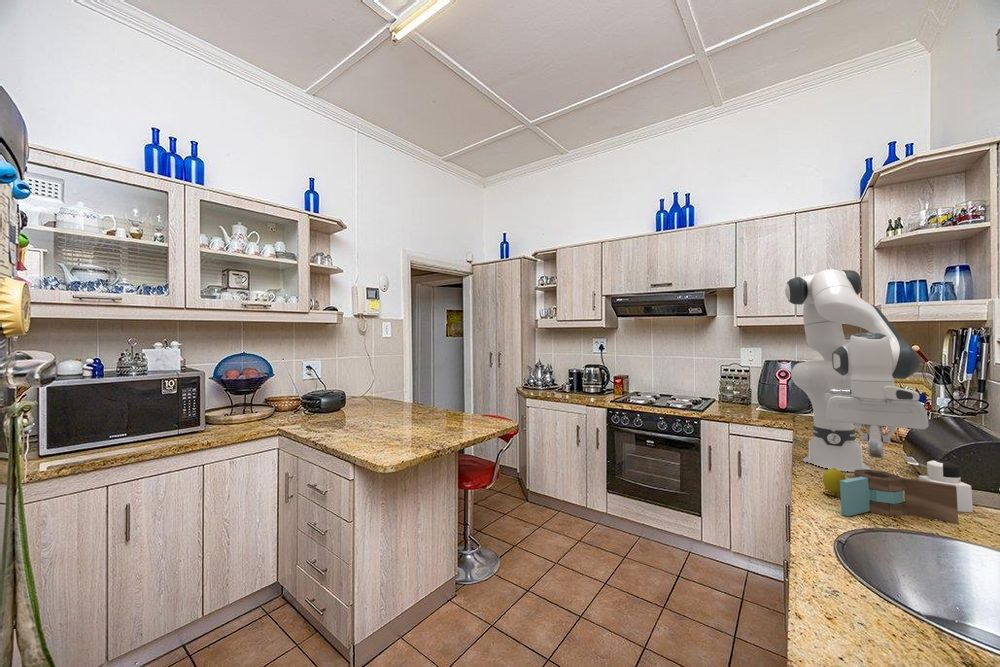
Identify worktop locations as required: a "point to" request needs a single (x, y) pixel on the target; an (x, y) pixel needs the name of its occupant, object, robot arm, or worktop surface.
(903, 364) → the robot arm
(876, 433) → the steel pin
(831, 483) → the lemon
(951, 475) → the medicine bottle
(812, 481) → the worktop surface
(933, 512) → the hinge fixed leaf
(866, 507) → the hinge swing leaf
